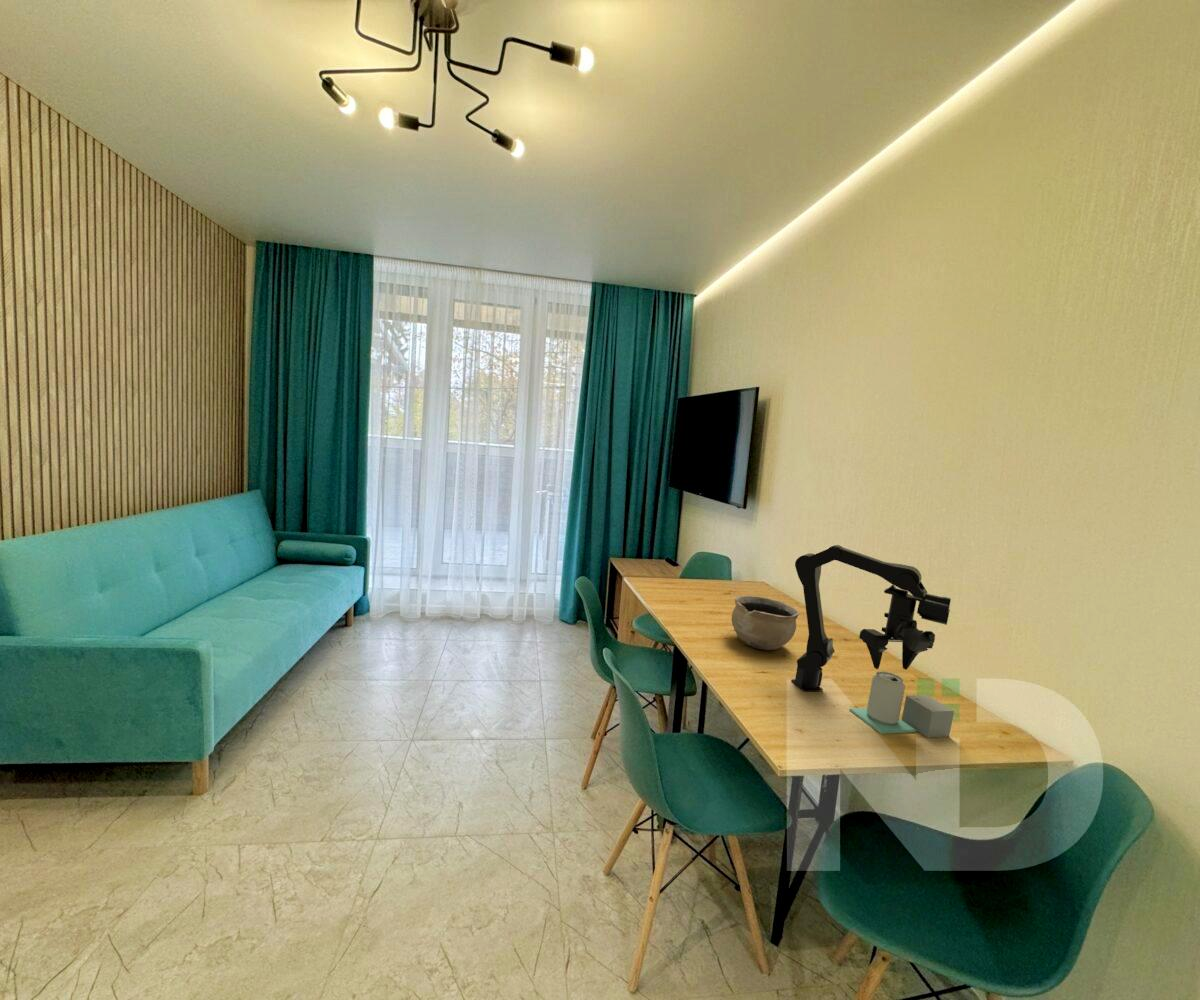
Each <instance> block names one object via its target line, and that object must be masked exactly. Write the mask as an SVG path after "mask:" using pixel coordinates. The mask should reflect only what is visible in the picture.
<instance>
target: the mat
mask: <svg viewBox="0 0 1200 1000" xmlns="http://www.w3.org/2000/svg"><path fill="white" fill-rule="evenodd" d="M849 712H851V713H852V714H853V715H855V716H856V717H858V718H859V719H860V720H862V721H863V722H864V723H866V724H867V725H868V726H870V727H871V728H872V729H874V730H875V731H877V732H878V733H879V734H881V735H882V734H885V735H886V734H902V733H903V734H907V733H916V732H917V730H916V729H914V728H913V727H911V726H910V725H908V724H907V723H905V722H904V721H902V718H899V721H898V723H895V724H893V725H886V724H882V723H879V722H877V721H875V720H873V719H872V718H871V717H870V716H869V714H868V713H867V707H854V708H853V707H852V708H851V707H850V708H849Z"/></svg>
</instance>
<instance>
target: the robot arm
mask: <svg viewBox="0 0 1200 1000" xmlns="http://www.w3.org/2000/svg"><path fill="white" fill-rule="evenodd" d="M833 561H837V562H839V563H843V564H846V565H848V566H850V567H854V568H857V569H859V570H863V571H865V572H868V573H870V574H874V575H876V576H878V577H880V578H882V579H883V580H885V581H887V582H888V583H889V584H891V585H890V586H889V587H887V588H885V589H884V591H883V593H884V594H888V595H891V598H890V603H889V608H888V609H889V610H888V612H884V614H883V615H884V617H885V618H886V619H887V620H886V623H885V624H886V625H885V627H884V626H882V627H881V632H880V631H878V630H876V629H873V628H872V629H871V628H863V629H861V630H860V632H859V637H858V639H860V640H862V642H863V643H865V644H866V647H867V650H868V653H869V655H870V658H871V662H872V665H873V668H874V669H875V670H879V668H880V665H881V661H882V657H883V653H884V652H885V651H887V650H888V648H887V645H888V644H889V643H901V645H902V649H901V650H902V653H901V654H902V655H901V658H902V659H901V663H902V664H901V665H902V669H904V670H906V671H907V670H908V669H909V667H910V666H911V664H912V663H913V662H914V660H915V658H916V657H917V656H918V655H919V654H920V653H922V652H927V651H929V649H933V646H934V643H935V640H936V634H935V633H934V632H933V631H930V630H925V631H924V630H919V628H918V626H917V625H918V622H917V620H915V619H914V618H915V617H914V616H915V610H916V606H917V602H918V607H917V611H916V612H917V614H918V616H920V618H921V619H922V620H926V621H929V622H933V623H938V624H942V625H946V626H947V624H948V621H949V617H950V616H949V615H950V613H951V612H950V611H951V609H950V607H951V601H952V599H951V597H948V596H938V595H935V594H929V593H928V591H927V589H926V587H925V586H924V584H923V582H922V579H923V578H922V574H921V572H920V570H919V569H918V568H917V567H915V566H912V565H908V564H907V565H906V564H902V563H896V562H895V563H894V562H887V561H883V560H881V559H877V558H874V557H871V556H868V555H866V554H863V553H860V552H857V551H854V550H851V549H849V548H847V547H843V546H841V545H839V544H834V545H832V546H830V547H828V548H827V549H825V550H822V551H819V552H818V553H815V554H814V553H806V554H803V555H799V557H798V558H797V559H796V560H795V562H794V566H795V570H796V573H797V577H798V579H799V581H800V583H801V584H802V587H803V589H802V590H803V598H804V605H805V611H806V612H805V613H806V621H807V629H808V637H807V642H806V652H805V653H803V654H802V655H801V656H800V657H799V658H798V659H797V660H796V665H797V668H796V671H795V679H794V678H793V679H791V680H790V681H791V682H792V683H793V684H794V685H796V686H797V687H798V688H800V689H801V690H802V692H823V691H824V690H823V687H821V684H822V678H823V668H822V667H825V665H827V663H828V662H830V660H831V659H832V658H833V656H834V653H835V652H836V651H835V649H834V645H833V644H834V638H833V637H829V638H828V636H827V634H826V632H825V624H824V616H823V608H822V607H823V606H822V600H821V590H820V580H821V574H822V566H824V565H826V564H829V563H831V562H833ZM882 632H883V633H882Z"/></svg>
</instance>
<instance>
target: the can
mask: <svg viewBox="0 0 1200 1000" xmlns="http://www.w3.org/2000/svg"><path fill="white" fill-rule="evenodd" d="M870 685H871V686H870V691H869V695H868V701H867V705H866V708H867V713H868V714H869V716H870V717H871V718H872V719H873V720H875V721H877V722H879V723H882V724H886V725H893V724H895V723H898V721H899V719H900V715H901V711H902V705H903V702H904V701H903V700H904V696H905V695H904V694H905V689H906V686H905V683H904V679H903V678H902V677H901V676H900V675H897V674H895V673H892V672H889V671H886V670H885V671H884V670H878V671H876V673H875V674H874V675H873V676H872V679H871V684H870Z"/></svg>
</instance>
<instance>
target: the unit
mask: <svg viewBox="0 0 1200 1000" xmlns="http://www.w3.org/2000/svg"><path fill="white" fill-rule="evenodd" d="M954 713H955V710H953V709H951V708H950V707H948V706H946V705H945V704H944V703H942V702H940V701H938V700H937V699H935V698H933V697H931V696H929V695H927V694H922V695H921V694H918V695H917V694H915V695H914V694H912V695H911V694H910V695H905V700H904V705H903V711H902V714H901V715H902V717H901V720H902V721H904V722H905V723H907V724H908V725H910V726H911V727H913V728H914V729H916V732H918V733H920V734H921V735H922V736H924V737H925V738H928V739H929V738H948V737H950V734H951V730H952V723H953V718H954Z"/></svg>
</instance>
